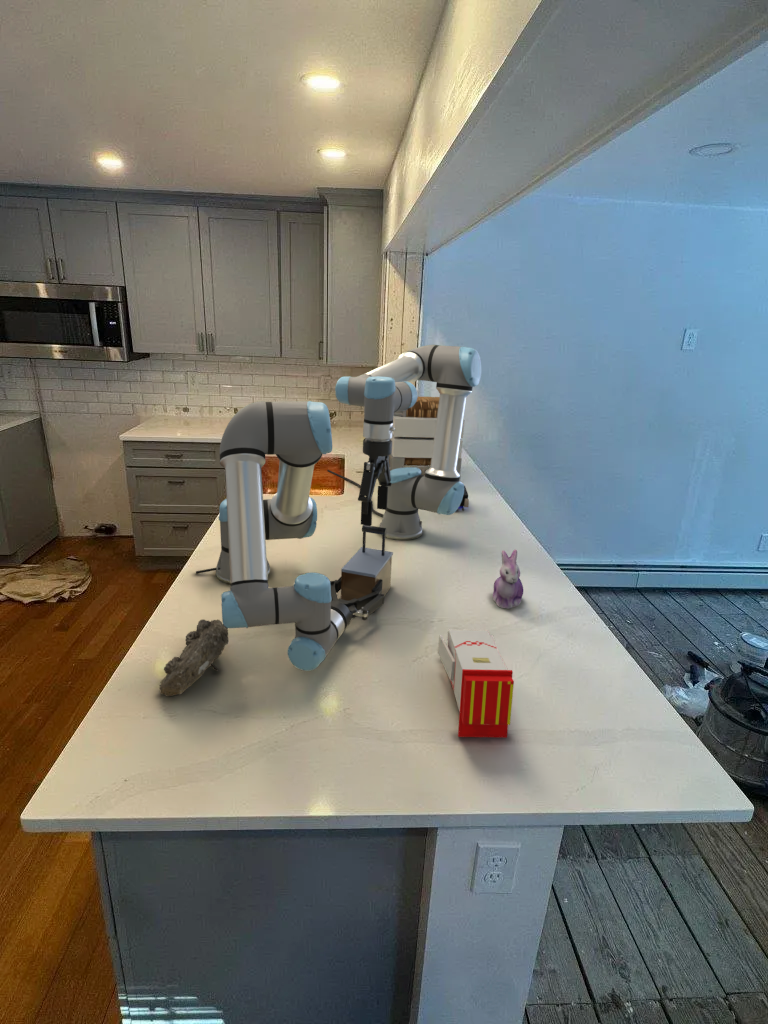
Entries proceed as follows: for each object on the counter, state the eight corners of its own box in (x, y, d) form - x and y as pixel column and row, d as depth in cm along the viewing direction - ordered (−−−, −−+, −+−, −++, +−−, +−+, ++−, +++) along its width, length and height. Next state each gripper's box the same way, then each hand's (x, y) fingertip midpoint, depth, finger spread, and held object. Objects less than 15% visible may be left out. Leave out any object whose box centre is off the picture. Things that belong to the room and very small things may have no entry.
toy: (488, 613, 130) (523, 677, 101) (484, 667, 133) (517, 744, 104) (435, 612, 130) (455, 676, 101) (432, 666, 133) (451, 743, 103)
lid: (361, 549, 161) (362, 520, 158) (392, 554, 158) (394, 525, 155) (341, 571, 147) (341, 540, 144) (375, 577, 144) (376, 545, 141)
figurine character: (468, 516, 224) (463, 500, 237) (471, 498, 221) (465, 483, 234) (452, 515, 224) (447, 499, 237) (453, 498, 220) (449, 482, 234)
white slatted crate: (382, 463, 289) (386, 382, 275) (445, 464, 293) (451, 384, 279) (390, 482, 257) (394, 392, 243) (460, 483, 261) (468, 394, 247)
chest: (359, 582, 164) (360, 550, 160) (390, 588, 161) (392, 555, 158) (340, 605, 150) (341, 571, 147) (373, 612, 148) (375, 577, 144)
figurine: (505, 613, 150) (512, 561, 145) (482, 596, 158) (488, 546, 153) (533, 606, 154) (540, 555, 149) (509, 589, 163) (515, 541, 158)
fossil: (183, 622, 131) (229, 592, 126) (212, 650, 134) (258, 621, 129) (138, 690, 111) (189, 657, 106) (173, 721, 114) (225, 691, 109)
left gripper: (287, 626, 134) (324, 586, 155) (375, 645, 129) (402, 600, 149) (286, 598, 132) (324, 561, 152) (376, 616, 126) (403, 575, 146)
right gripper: (376, 450, 133) (372, 534, 140) (404, 431, 156) (400, 504, 163) (346, 447, 135) (344, 529, 142) (378, 428, 158) (375, 501, 165)
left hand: (362, 580), depth 150 cm, fingers closed on chest, 9 cm apart
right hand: (374, 516), depth 152 cm, fingers open, 13 cm apart
